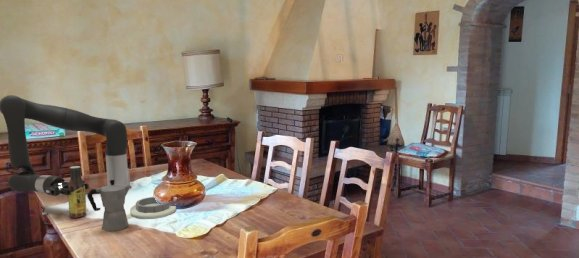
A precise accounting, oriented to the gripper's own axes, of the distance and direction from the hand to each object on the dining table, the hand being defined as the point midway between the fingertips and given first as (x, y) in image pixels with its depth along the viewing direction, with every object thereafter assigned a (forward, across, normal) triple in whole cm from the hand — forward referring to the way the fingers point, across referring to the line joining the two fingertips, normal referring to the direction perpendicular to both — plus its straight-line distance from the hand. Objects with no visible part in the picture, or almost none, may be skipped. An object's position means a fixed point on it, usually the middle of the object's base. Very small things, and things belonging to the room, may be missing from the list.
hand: (79, 189), depth 179 cm
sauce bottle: (-2, 0, +11) cm, 11 cm away
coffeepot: (+20, -4, +11) cm, 24 cm away
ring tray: (+22, +16, +11) cm, 30 cm away
